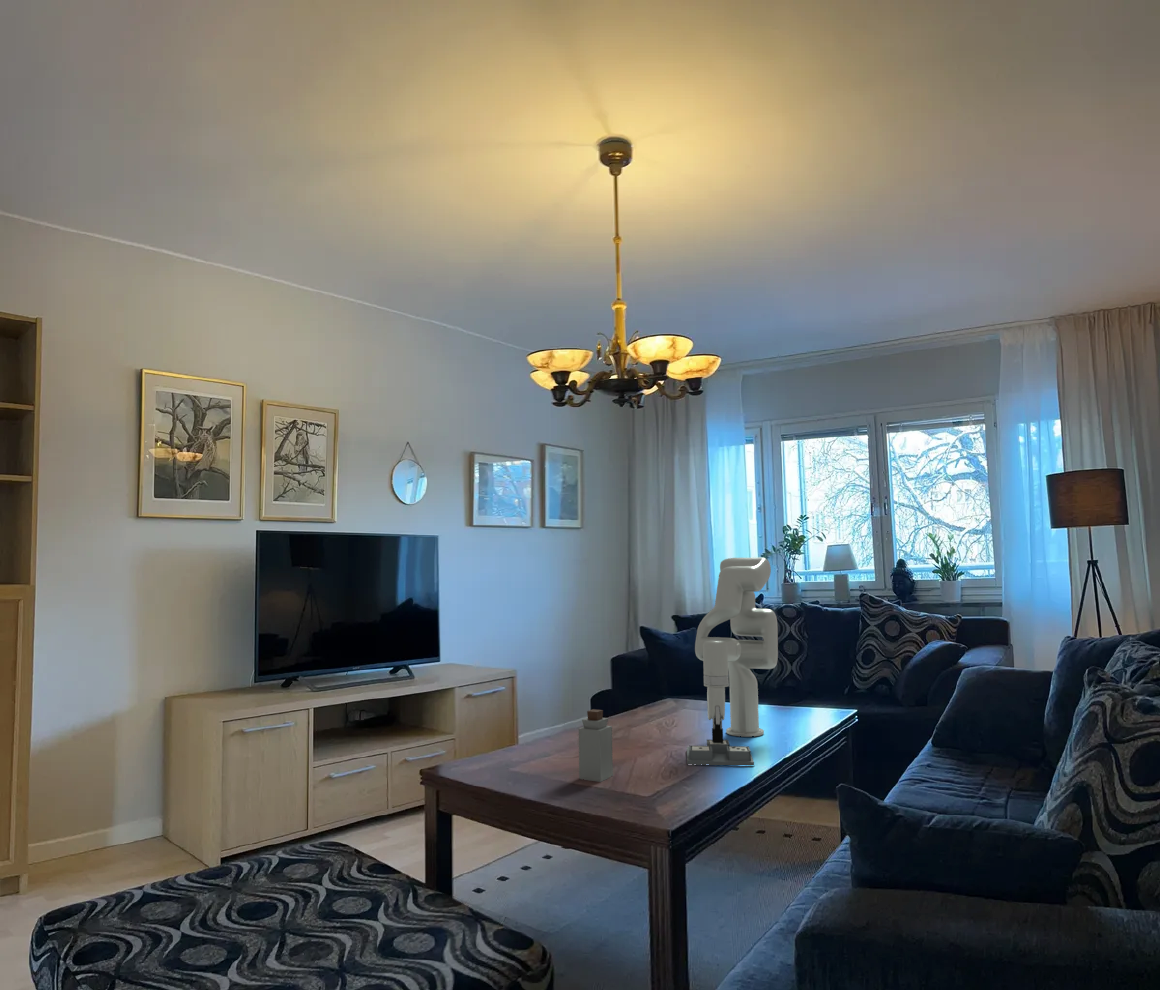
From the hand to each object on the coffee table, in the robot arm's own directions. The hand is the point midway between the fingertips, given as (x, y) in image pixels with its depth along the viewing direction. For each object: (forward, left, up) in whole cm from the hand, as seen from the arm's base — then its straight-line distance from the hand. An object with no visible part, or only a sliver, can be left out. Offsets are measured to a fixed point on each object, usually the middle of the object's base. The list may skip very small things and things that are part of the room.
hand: (717, 742), depth 241 cm
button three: (+8, +6, -2) cm, 10 cm away
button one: (+8, -5, -2) cm, 10 cm away
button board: (+4, 0, -4) cm, 6 cm away
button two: (0, 0, -2) cm, 2 cm away
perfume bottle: (+28, -34, -4) cm, 45 cm away
